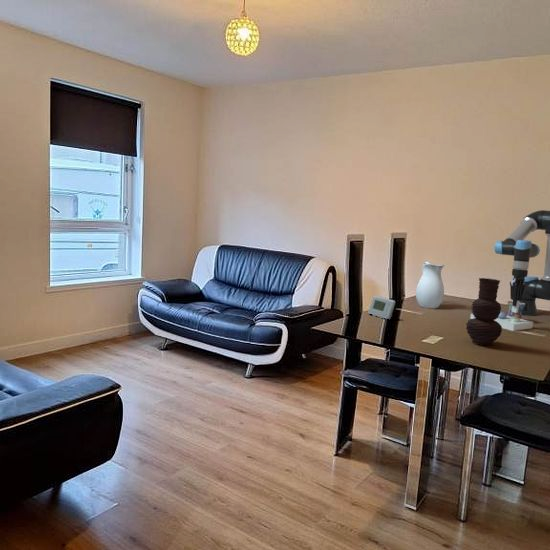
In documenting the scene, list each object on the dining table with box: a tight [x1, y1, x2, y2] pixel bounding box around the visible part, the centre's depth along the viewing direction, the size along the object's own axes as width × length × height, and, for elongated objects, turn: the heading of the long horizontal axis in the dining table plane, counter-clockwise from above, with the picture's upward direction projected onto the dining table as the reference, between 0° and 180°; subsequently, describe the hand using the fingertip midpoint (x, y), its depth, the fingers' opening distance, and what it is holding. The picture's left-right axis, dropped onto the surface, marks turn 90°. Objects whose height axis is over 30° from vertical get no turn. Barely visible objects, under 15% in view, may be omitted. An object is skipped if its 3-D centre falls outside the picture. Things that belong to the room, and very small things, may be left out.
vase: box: [465, 277, 503, 346], centre depth 225 cm, size 15×15×30 cm
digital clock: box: [367, 295, 396, 320], centre depth 271 cm, size 16×9×11 cm, turn 22°
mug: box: [507, 300, 525, 319], centre depth 284 cm, size 12×9×11 cm
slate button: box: [498, 311, 508, 319], centre depth 272 cm, size 5×5×4 cm
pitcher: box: [415, 261, 445, 309], centre depth 313 cm, size 24×17×28 cm
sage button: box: [510, 318, 520, 323], centre depth 266 cm, size 5×5×4 cm
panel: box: [469, 313, 534, 332], centre depth 272 cm, size 18×26×4 cm
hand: (514, 312), depth 266 cm, fingers closed
